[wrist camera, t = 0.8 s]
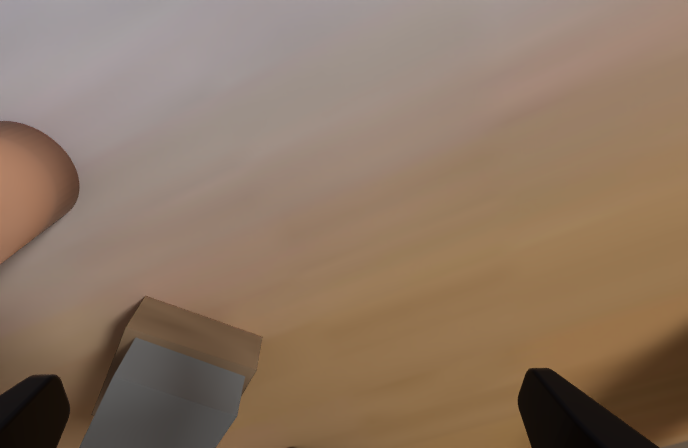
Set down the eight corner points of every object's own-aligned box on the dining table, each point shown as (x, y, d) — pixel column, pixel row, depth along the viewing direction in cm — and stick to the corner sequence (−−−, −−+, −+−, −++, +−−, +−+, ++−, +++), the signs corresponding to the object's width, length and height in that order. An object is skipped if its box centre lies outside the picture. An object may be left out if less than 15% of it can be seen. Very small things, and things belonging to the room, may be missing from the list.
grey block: (202, 440, 24) (191, 483, 22) (100, 410, 22) (76, 452, 20) (245, 376, 22) (237, 416, 20) (135, 337, 20) (113, 376, 18)
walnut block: (221, 405, 27) (211, 446, 24) (115, 373, 25) (91, 415, 23) (263, 332, 25) (256, 370, 22) (148, 291, 23) (125, 327, 20)
